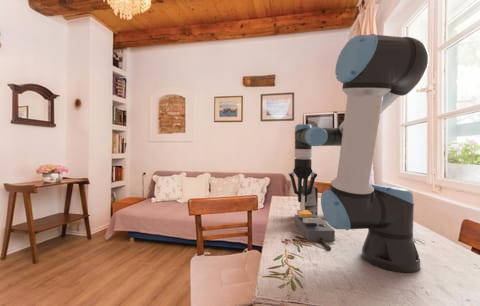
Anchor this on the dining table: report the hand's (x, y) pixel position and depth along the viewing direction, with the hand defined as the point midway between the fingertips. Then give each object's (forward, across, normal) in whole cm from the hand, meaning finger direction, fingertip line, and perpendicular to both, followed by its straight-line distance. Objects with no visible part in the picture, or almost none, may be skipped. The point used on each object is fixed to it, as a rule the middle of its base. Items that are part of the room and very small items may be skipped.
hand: (302, 209), depth 107 cm
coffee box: (+8, -6, -10) cm, 14 cm away
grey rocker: (+1, 0, +14) cm, 14 cm away
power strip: (+7, -2, +13) cm, 15 cm away
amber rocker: (+1, 0, +4) cm, 4 cm away
